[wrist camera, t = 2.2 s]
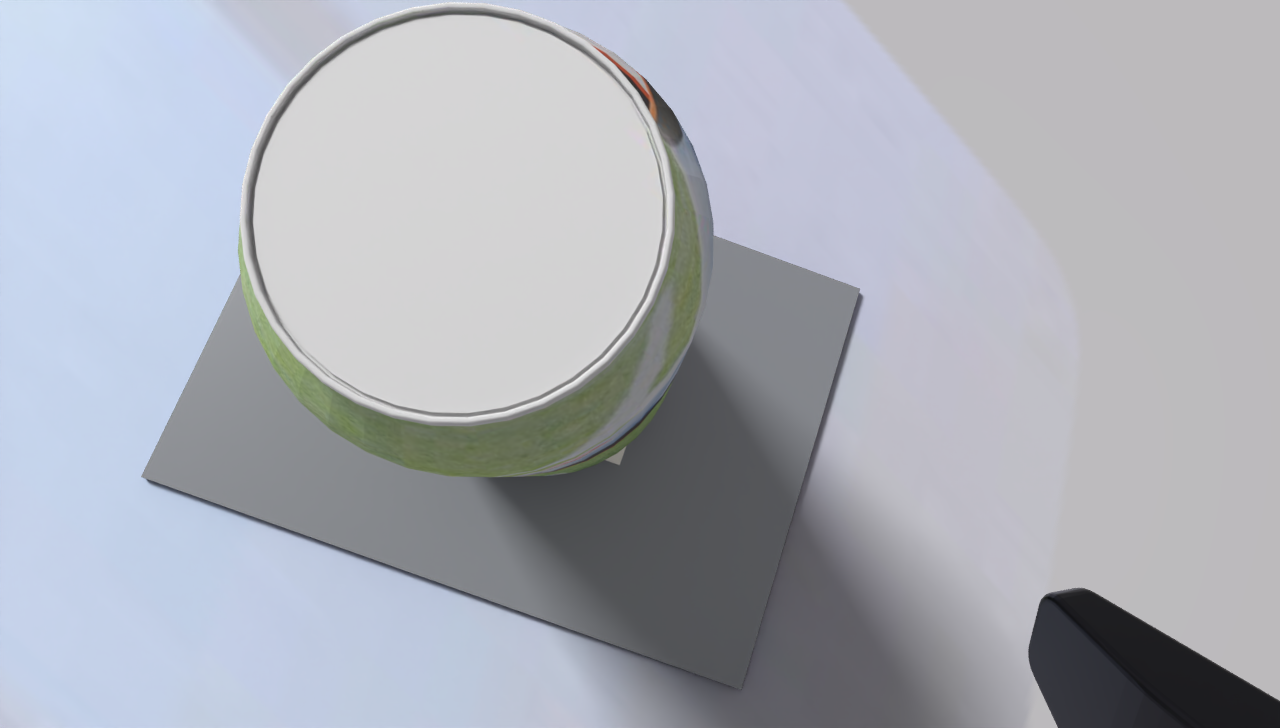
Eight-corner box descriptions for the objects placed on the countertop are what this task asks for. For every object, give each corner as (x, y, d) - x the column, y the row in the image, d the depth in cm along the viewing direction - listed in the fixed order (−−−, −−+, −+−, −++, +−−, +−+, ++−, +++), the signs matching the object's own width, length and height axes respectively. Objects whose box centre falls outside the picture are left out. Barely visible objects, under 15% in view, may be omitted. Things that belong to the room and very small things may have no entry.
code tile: (858, 290, 24) (861, 287, 24) (739, 689, 21) (741, 690, 21) (329, 97, 23) (327, 93, 23) (144, 477, 21) (139, 476, 21)
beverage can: (710, 304, 23) (887, 6, 11) (571, 582, 21) (613, 565, 10) (480, 187, 23) (423, -225, 12) (321, 454, 21) (60, 283, 10)
